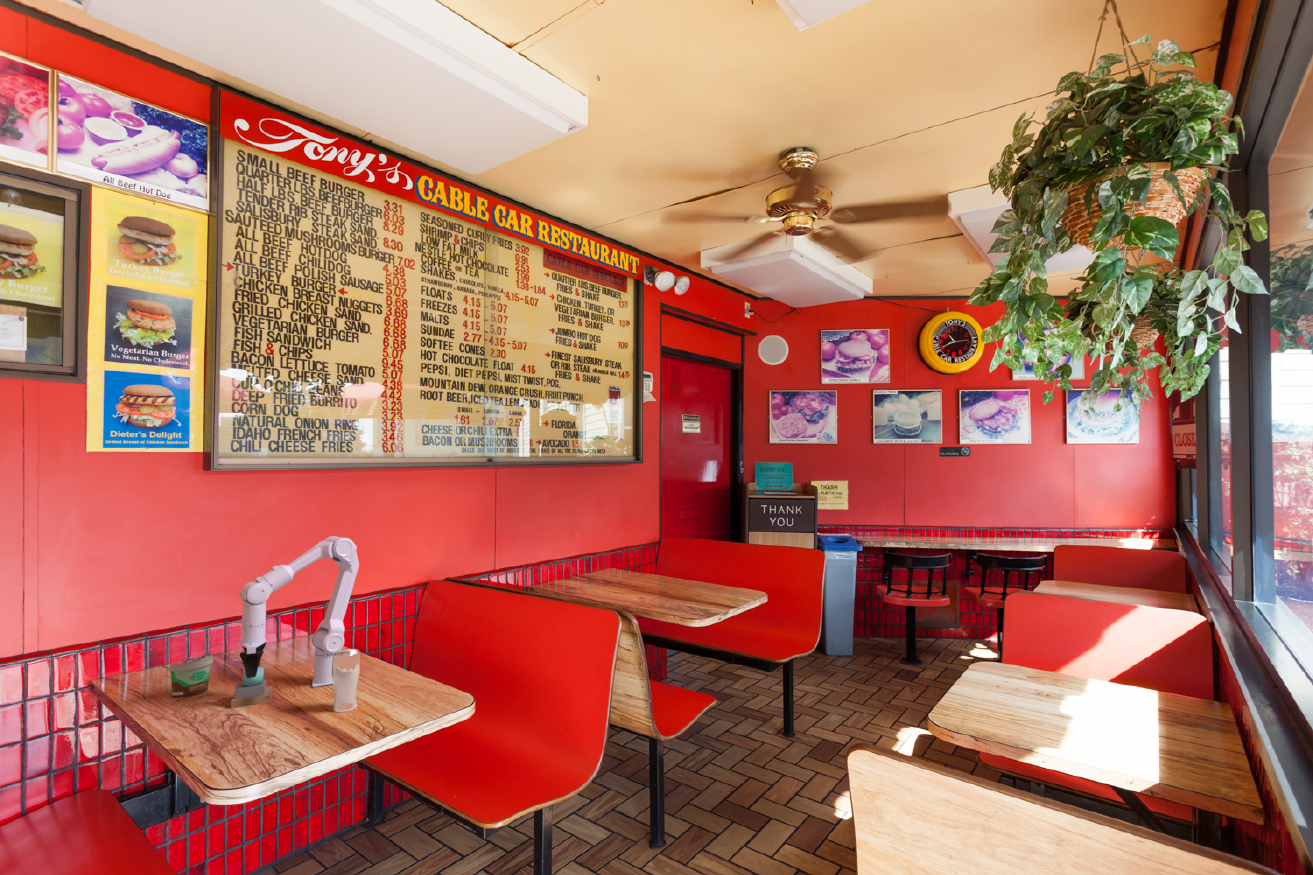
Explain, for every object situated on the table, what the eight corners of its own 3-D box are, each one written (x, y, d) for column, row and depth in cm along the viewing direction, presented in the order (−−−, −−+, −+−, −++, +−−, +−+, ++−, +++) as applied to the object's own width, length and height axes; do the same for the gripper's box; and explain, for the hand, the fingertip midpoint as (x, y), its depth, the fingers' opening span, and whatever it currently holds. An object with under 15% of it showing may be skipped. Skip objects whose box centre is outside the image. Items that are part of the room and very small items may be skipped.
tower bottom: (271, 694, 185) (271, 685, 185) (269, 704, 177) (269, 695, 177) (234, 699, 180) (235, 690, 180) (231, 710, 172) (231, 701, 173)
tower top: (266, 687, 183) (266, 678, 183) (264, 694, 177) (264, 685, 177) (237, 691, 180) (237, 682, 180) (234, 699, 174) (234, 690, 174)
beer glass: (364, 705, 174) (365, 649, 175) (344, 714, 168) (345, 657, 168) (345, 702, 176) (346, 647, 177) (324, 711, 170) (325, 654, 171)
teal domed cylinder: (264, 679, 182) (265, 665, 182) (261, 685, 178) (262, 670, 178) (243, 681, 180) (245, 667, 180) (240, 687, 176) (242, 672, 176)
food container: (185, 701, 178) (186, 665, 179) (167, 699, 179) (168, 663, 180) (223, 686, 190) (224, 652, 191) (206, 685, 191) (207, 651, 192)
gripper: (240, 621, 184) (238, 668, 184) (234, 632, 171) (232, 683, 171) (268, 618, 188) (267, 664, 187) (264, 628, 175) (263, 678, 174)
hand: (252, 673), depth 179 cm, fingers open, 7 cm apart
